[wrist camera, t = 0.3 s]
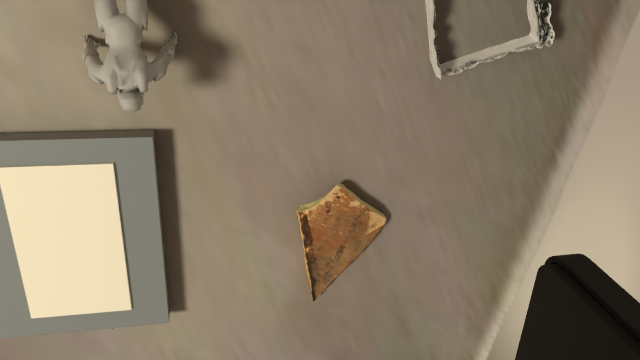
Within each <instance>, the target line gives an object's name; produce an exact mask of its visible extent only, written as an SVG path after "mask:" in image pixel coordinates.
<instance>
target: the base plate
mask: <svg viewBox="0 0 640 360" xmlns="http://www.w3.org/2000/svg"><path fill="white" fill-rule="evenodd" d="M169 313H170V311H169V300H168V288H167V277H166V265H165V254H164V242H163V231H162V219H161V208H160V196H159V185H158V173H157V162H156V150H155V139H154V130H118V131H73V132H29V133H0V338H11V337H21V336H32V335H43V334H54V333H65V332H75V331H86V330H97V329H108V328H119V327H130V326H140V325H151V324H162V323H169Z"/></svg>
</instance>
